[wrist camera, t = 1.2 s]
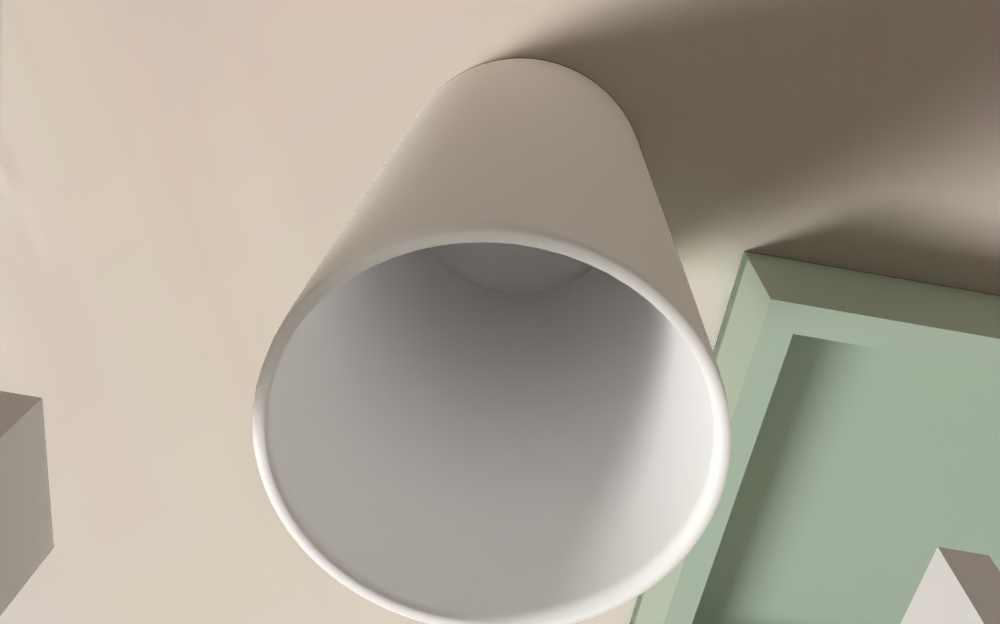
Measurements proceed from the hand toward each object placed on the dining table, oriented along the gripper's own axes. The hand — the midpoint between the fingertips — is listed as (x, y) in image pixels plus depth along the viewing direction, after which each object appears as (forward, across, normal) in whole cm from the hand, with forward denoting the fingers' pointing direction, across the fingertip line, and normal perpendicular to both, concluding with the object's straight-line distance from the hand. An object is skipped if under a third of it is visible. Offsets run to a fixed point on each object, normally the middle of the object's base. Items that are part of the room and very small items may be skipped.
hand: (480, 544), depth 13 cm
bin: (+18, +17, -10) cm, 27 cm away
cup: (+18, 0, 0) cm, 18 cm away
